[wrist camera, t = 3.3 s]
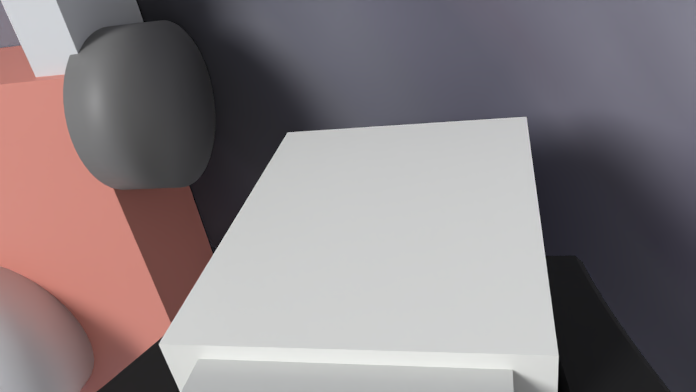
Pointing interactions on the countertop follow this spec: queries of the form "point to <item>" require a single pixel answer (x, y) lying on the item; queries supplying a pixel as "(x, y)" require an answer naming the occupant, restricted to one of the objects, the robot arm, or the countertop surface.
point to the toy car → (96, 188)
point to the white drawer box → (378, 269)
